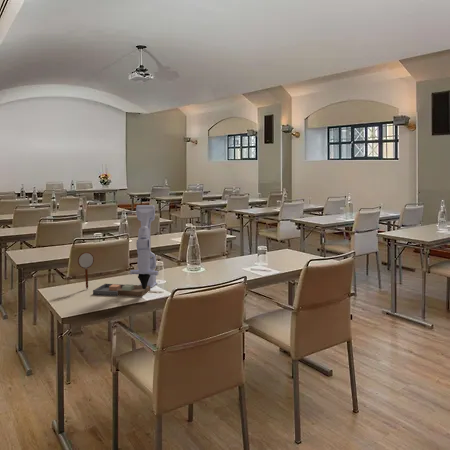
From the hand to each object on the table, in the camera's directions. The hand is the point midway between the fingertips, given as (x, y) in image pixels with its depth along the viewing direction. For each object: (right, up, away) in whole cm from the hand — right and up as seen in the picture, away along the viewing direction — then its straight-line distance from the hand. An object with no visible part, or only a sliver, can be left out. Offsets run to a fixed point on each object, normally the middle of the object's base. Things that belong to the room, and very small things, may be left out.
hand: (144, 288), depth 247 cm
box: (-19, -3, +7) cm, 20 cm away
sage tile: (-9, -1, +2) cm, 9 cm away
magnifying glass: (-33, -2, +12) cm, 35 cm away
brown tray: (-6, -3, +5) cm, 8 cm away
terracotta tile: (-17, 0, +10) cm, 20 cm away
